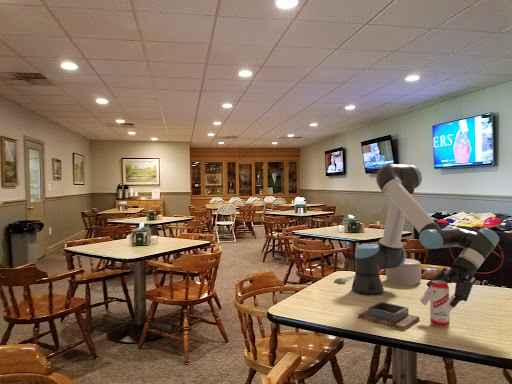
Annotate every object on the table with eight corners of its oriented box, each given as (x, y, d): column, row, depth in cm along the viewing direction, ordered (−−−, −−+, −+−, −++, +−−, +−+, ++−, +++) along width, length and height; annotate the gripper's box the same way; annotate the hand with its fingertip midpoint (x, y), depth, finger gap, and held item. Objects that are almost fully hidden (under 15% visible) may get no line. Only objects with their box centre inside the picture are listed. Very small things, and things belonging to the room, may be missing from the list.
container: (418, 287, 180) (418, 264, 180) (383, 282, 190) (382, 261, 190) (423, 280, 195) (423, 259, 195) (390, 276, 205) (389, 256, 205)
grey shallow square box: (368, 315, 134) (368, 307, 134) (381, 308, 141) (381, 301, 141) (395, 322, 126) (395, 314, 126) (408, 315, 133) (408, 307, 133)
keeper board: (358, 318, 135) (358, 314, 135) (375, 309, 145) (375, 306, 145) (403, 330, 122) (403, 326, 122) (419, 320, 132) (419, 316, 132)
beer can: (452, 328, 124) (451, 284, 124) (433, 327, 125) (432, 283, 125) (446, 322, 130) (445, 280, 130) (428, 321, 131) (427, 279, 131)
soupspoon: (331, 284, 191) (341, 287, 186) (331, 278, 190) (341, 281, 186) (351, 276, 206) (361, 279, 201) (351, 271, 206) (362, 273, 201)
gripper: (501, 276, 120) (464, 325, 116) (450, 263, 142) (418, 304, 139) (488, 261, 119) (450, 310, 115) (439, 251, 141) (406, 292, 138)
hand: (432, 307), depth 127 cm, fingers open, 10 cm apart
